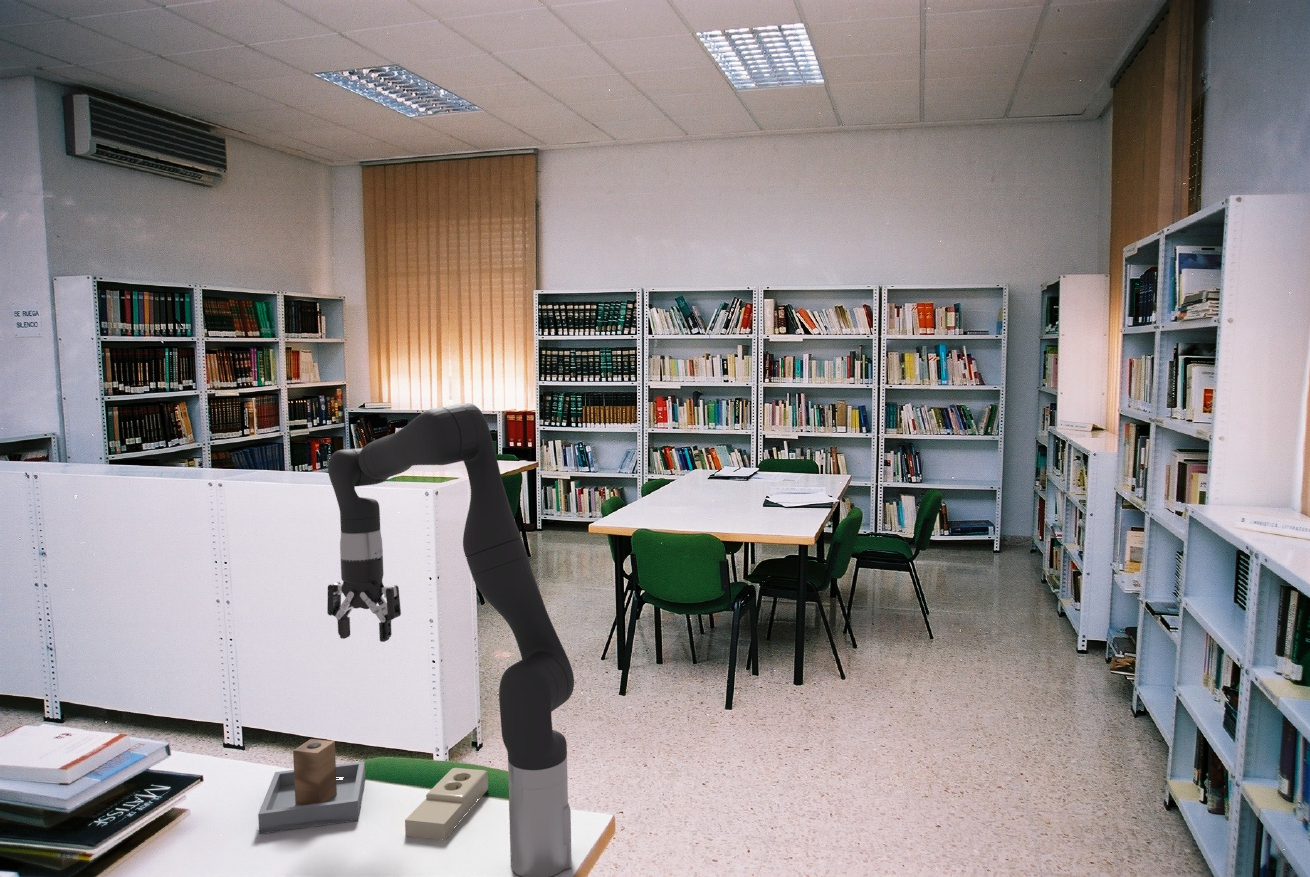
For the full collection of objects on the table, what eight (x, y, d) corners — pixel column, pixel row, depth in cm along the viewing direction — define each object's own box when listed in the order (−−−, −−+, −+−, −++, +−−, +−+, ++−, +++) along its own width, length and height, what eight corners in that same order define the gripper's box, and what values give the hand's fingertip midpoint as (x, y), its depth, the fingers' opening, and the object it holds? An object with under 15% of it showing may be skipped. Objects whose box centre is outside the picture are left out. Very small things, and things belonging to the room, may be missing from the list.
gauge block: (336, 794, 154) (334, 741, 154) (319, 807, 150) (317, 752, 149) (313, 791, 156) (310, 738, 155) (295, 804, 151) (293, 750, 150)
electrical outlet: (404, 814, 142) (452, 766, 159) (405, 837, 142) (453, 787, 159) (444, 818, 140) (487, 769, 158) (444, 842, 140) (488, 790, 158)
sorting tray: (365, 778, 162) (364, 761, 162) (358, 820, 147) (357, 800, 147) (275, 790, 158) (275, 772, 158) (259, 833, 143) (258, 814, 143)
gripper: (316, 557, 156) (319, 642, 157) (383, 560, 152) (386, 647, 153) (341, 549, 163) (344, 631, 164) (406, 551, 160) (409, 635, 161)
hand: (365, 639), depth 159 cm, fingers open, 8 cm apart
